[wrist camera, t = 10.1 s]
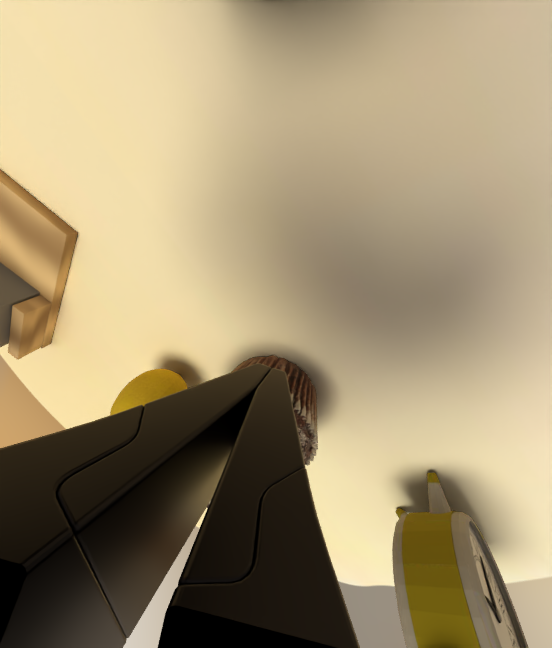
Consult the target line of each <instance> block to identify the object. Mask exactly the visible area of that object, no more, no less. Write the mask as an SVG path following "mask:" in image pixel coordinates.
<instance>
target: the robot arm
mask: <svg viewBox="0 0 552 648" xmlns="http://www.w3.org/2000/svg"><path fill="white" fill-rule="evenodd" d="M211 499H212V500H211ZM210 500H211V502H210ZM209 502H210V505H209V507H208V509H207V512H206V514H205V517H204V519H203V522H202V524H201V527H200V529H199V532H198V534H197V537H196V539H195V542H194V544H193V547H192V549H191V552H190V555H189V557H188V559H187V562H186V564H185V567H184V569H183V572H182V574H181V577H180V579H179V582H178V587H177V588H176V589H175V591H174V593H173V596H172V599H171V601H170V603H169V606H168V608H167V611H166V613H165V618H164V622H163V627H162V631H161V636H160V640H159V645H158V648H360V646H359V644H358V640H357V637H356V634H355V632H354V628H353V625H352V622H351V619H350V617H349V613H348V610H347V607H346V604H345V601H344V598H343V595H342V592H341V589H340V587H339V583H338V580H337V577H336V574H335V571H334V568H333V565H332V562H331V559H330V556H329V553H328V550H327V547H326V543H325V540H324V537H323V534H322V530H321V527H320V524H319V520H318V517H317V513H316V509H315V505H314V501H313V497H312V493H311V489H310V484H309V479H308V475H307V470H306V469H305V462H304V457H303V453H302V448H301V443H300V438H299V433H298V428H297V424H296V419H295V414H294V409H293V404H292V399H291V394H290V390H289V385H288V380H287V375H286V372H285V371H282V370H279V369H276V368H272V369H271V367H269V366H267V365H264V364H261V363H256V364H254V365H251V366H248V367H245V368H243V369H240V370H237V371H234V372H231V373H229V374H226V375H223V376H220V377H218V378H215V379H212V380H209V381H207V382H204V383H201V384H198V385H196V386H193V387H190V388H187V389H185V390H182V391H179V392H176V393H174V394H171V395H168V396H165V397H163V398H160V399H157V400H154V401H151V402H149V403H146V404H145V405H144V406H143V405H139V406H136V407H133V408H130V409H128V410H125V411H122V412H119V413H116V414H113V415H110V416H107V417H104V418H101V419H98V420H95V421H93V422H89V423H86V424H83V425H79V426H76V427H73V428H69V429H66V430H63V431H60V432H56V433H53V434H49V435H46V436H42V437H39V438H35V439H32V440H28V441H25V442H21V443H18V444H14V445H11V446H7V447H4V448H0V648H123V646H124V645H125V643H126V638H128V637H129V636H130V635H131V633H132V631H133V630H134V628H135V626H136V625H137V623H138V621H139V620H140V618H141V616H142V614H143V613H144V611H145V609H146V607H147V606H148V604H149V603H150V601H151V599H152V598H153V596H154V594H155V592H156V591H157V589H158V587H159V586H160V584H161V583H162V581H163V579H164V577H165V576H166V574H167V572H168V571H169V569H170V568H171V566H172V564H173V562H174V561H175V559H176V557H177V556H178V554H179V552H180V551H181V549H182V547H183V546H184V544H185V542H186V541H187V539H188V537H189V536H190V534H191V532H192V531H193V529H194V527H195V526H196V524H197V522H198V521H199V519H200V517H201V515H202V514H203V512H204V510H205V509H206V507H207V505H208V504H209Z"/></svg>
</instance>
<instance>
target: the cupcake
mask: <svg viewBox="0 0 552 648" xmlns="http://www.w3.org/2000/svg"><path fill="white" fill-rule="evenodd" d="M256 363H261V364H264V365H267V366H269V367H271V369H272V368H276V369H279V370H282V371H285V372H286V375H287V380H288V385H289V390H290V394H291V399H292V404H293V409H294V414H295V419H296V424H297V428H298V433H299V438H300V443H301V448H302V453H303V457H304V462H305V465H310V461H313V459H314V456H316V450H317V449H318V444H317V443H318V436H317V407H316V390H315V387H314V385H313V384H312V383H311V380H310V378H309V377H308V375H307V374H306V373H305V372H304V371H303V370H301V369H300V368H299V367H298V366H297V365H296V364H294V363H291V362H289V361H287V360H286V359H284V358H278V357H276V356H274V355H272V356H269V357H253V358H251V359H248V360H247V361H244V362H243V363H241V364H240V365H239V366H238V367H237V368H235V369H234V370H233V371H232V372H234V371H237V370H240V369H243V368H245V367H248V366H251V365H254V364H256ZM211 500H212V499H211ZM211 500H210V502H211ZM210 502H209V503H210Z"/></svg>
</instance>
